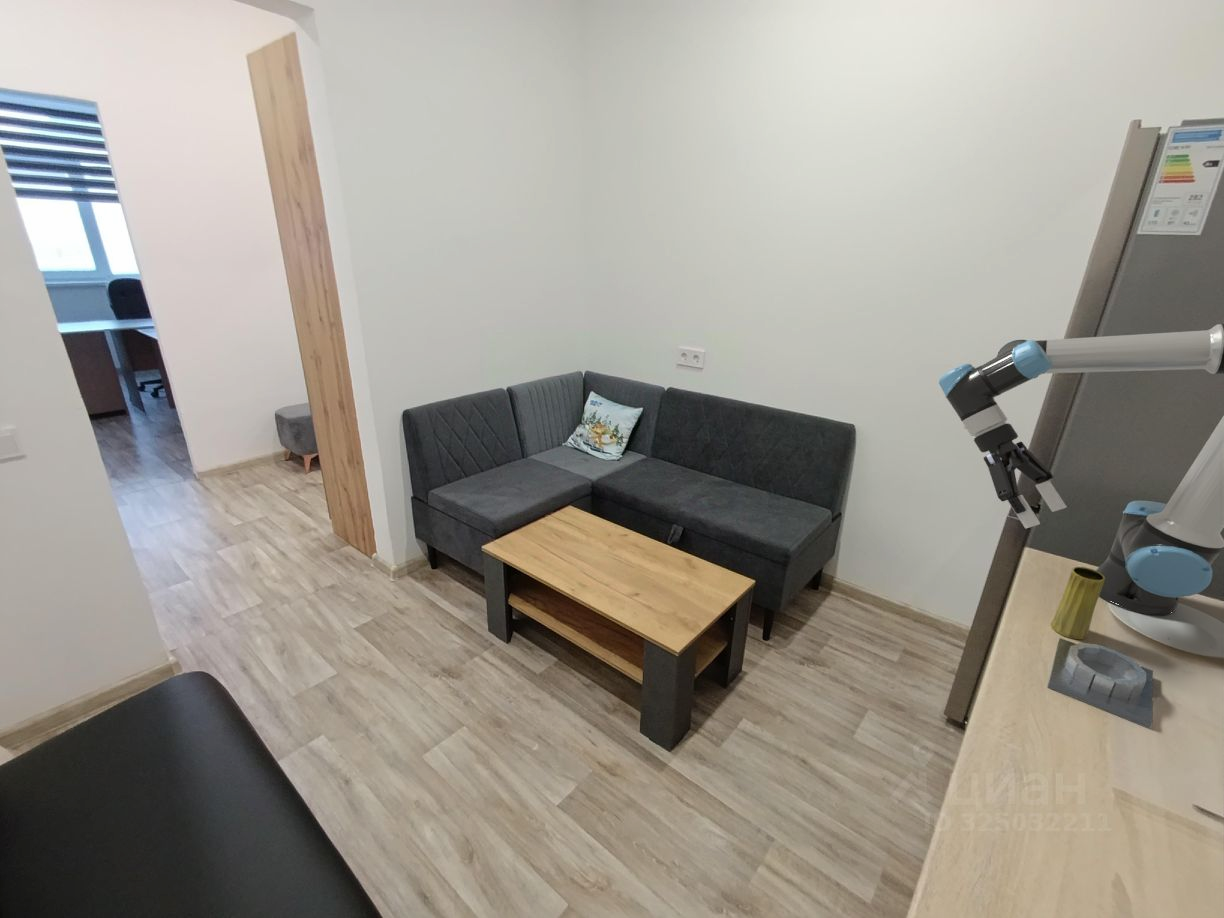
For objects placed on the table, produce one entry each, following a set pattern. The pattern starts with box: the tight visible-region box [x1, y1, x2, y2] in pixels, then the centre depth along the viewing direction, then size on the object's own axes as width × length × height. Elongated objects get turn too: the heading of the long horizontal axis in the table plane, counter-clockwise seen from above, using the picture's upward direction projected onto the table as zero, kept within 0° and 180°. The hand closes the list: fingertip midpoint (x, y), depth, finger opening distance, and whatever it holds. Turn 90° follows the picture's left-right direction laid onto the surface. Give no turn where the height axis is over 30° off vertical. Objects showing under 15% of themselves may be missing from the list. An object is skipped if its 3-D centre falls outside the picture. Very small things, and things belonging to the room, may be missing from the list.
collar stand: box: [1047, 638, 1154, 729], centre depth 102 cm, size 16×14×4 cm
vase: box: [1050, 566, 1105, 640], centre depth 114 cm, size 6×6×14 cm
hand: (1046, 517), depth 115 cm, fingers open, 13 cm apart
